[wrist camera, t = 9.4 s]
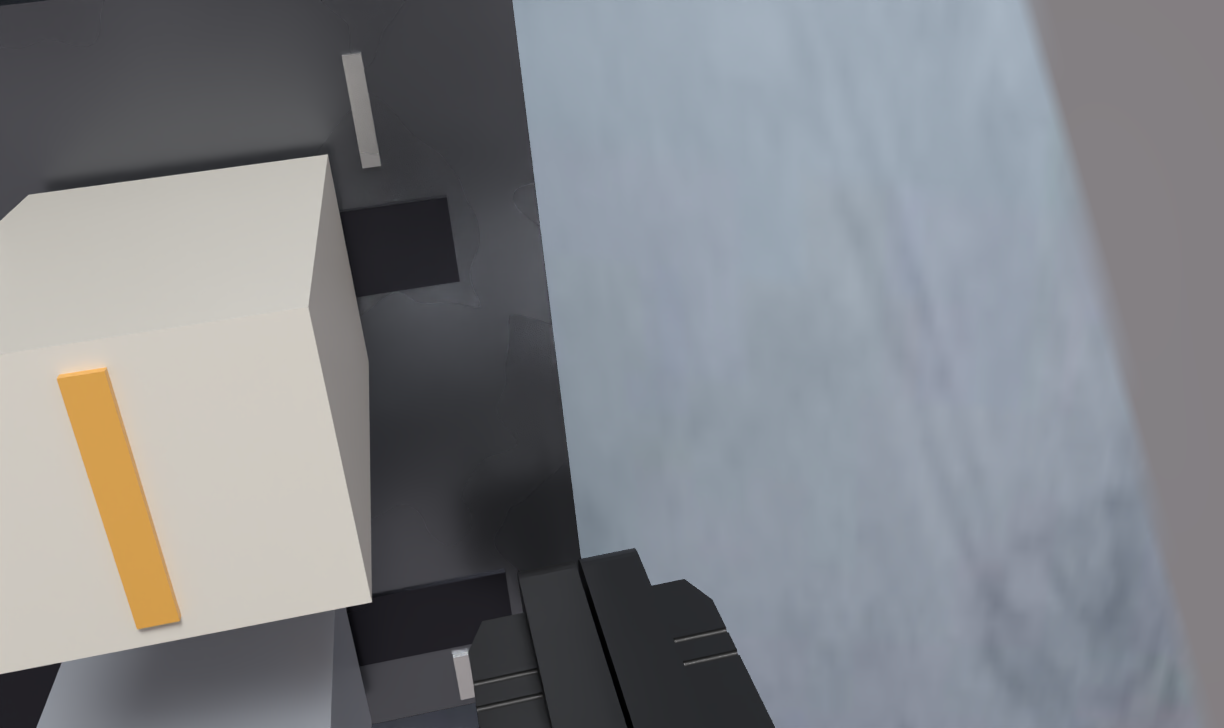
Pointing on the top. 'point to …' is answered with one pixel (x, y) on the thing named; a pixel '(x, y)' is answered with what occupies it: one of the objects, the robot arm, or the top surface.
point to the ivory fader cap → (179, 411)
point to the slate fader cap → (220, 681)
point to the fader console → (351, 266)
